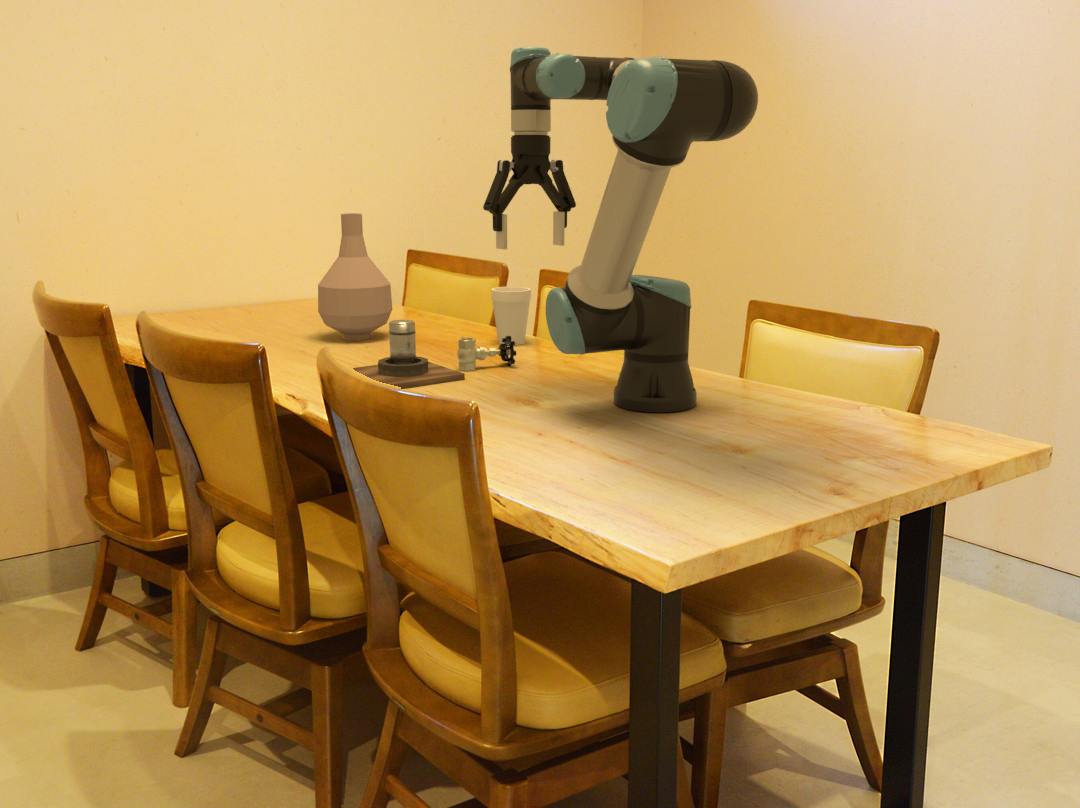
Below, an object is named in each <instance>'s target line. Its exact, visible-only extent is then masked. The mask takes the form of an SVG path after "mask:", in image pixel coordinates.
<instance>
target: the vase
mask: <svg viewBox="0 0 1080 808" xmlns="http://www.w3.org/2000/svg"><path fill="white" fill-rule="evenodd" d="M340 222H341V223H340V224H341V226H340V227H341V239H340V245H339V249H338V251H339V252H338V256H337V257H336V259H335V261H334V262H333V263H332V265H331V266H330V268H329V269H328V270H327V272H326V274H324V276H323V278H321V280H320V282H318V284H317V305H318V306H317V312H318V315H319V316H320V318H321V319H322V322H323V324H324V325H325V326H327V327H329V328H331V329H332V330H335V331H337V332H339V333H341V334H342V338H343V339H344V340H346V341H362V340H363V341H364V340H368V339H370V338H371V333H373V332H374V331H376V330H378V329H379V328H381V327H383V326H384V325H386V324H388V321H389V319H390V316H391V314H392V311H393V300H392V287H391V282H390V281H389V280H388V278H387V277H386V275H384V273H382V271H381V270H380V268H379V267H377V265H376V264H375V262H374V261H373V260H372V259H371V258H370V257H369V255H368V252H367V247H366V242H365V239H364V234H363V232H364V231H363V214H362V213H355V212H354V213H350V212H349V213H348V212H347V213H340Z"/></svg>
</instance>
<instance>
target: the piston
mask: <svg viewBox="0 0 1080 808" xmlns="http://www.w3.org/2000/svg"><path fill="white" fill-rule="evenodd" d="M388 335H389V337H388V338H389V357H390V364H397V365H401V364H414V363H416V356H417V349H416V347H417V344H416V341H417V340H416V323H415V321H414V320H412V319H394V320H390V321H389V322H388Z"/></svg>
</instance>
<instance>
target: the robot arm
mask: <svg viewBox="0 0 1080 808" xmlns="http://www.w3.org/2000/svg"><path fill="white" fill-rule="evenodd" d="M550 51H551V50H549V48H547V47H539V46H523V47H515V48H514V49H513V50H512V51H511V53H510V67H509V73H510V74H509V75H510V131H511V132H512V133H513V134H514V135H511V136H510V153H511V156H512V159H511V161H510V160H509V159H508V160H507V159H500V160H498V161H497V165H496V166H497V167H496V173H495V175H494V178H493V180H492V184H491V186H490V188H489V191H488V193H487V196H486V198H485V201H484V203H483V207H482V208H483V210H484V211H486V212H489V213H490V214H492V229H493V230H492V231H494V232H495V248H496V249H497V250H498V249H499V250H508V214H506V213H505V214H504V212H505V211H506V209H507V208H508V206H509V204H510V203H511V201H512V200H513V199H514V197H515V196H516V194H517V193H518V191H519V189H520V188H521V187H523V186H524V185H538V186H540V187H541V189H542V190H543V191H544V193H545V194H546V196H547V198H549V200H550V202H551V204H552V205H553V206H554V208H555V209H556V210H555V211H553V213H552V214H553V215H552V221H553V222H552V223H553V224H552V226H553V227H552V230H553V231H552V245H554V246H560V247H561V246H565V229H567V226H568V213H570V212H571V210H572V209H574V208H576V206H577V202H576V201H575V198H574V195H573V192H572V190H571V188H570V184H569V182H568V180H567V176H566V173H565V171H564V162H563V160H562V159H552V160H550V158H549V157H550V154H551V136H550V135H548V133H550V132H551V131H552V127H551V126H552V125H551V124H552V119H551V118H552V117H551V115H552V113H551V110H552V108H551V101H552V100H568V101H569V100H573V101H574V100H575V101H577V100H579V101H580V100H582V101H584V100H585V101H594V100H595V101H596V100H597V101H606V104H605V105H606V106H607V111H606V112H605V116H606V117H605V118H606V124H607V129H608V130H609V131H610V133H611V135H612V136H611V137H612V143H613V145H614V146H615V148H616V149H617V152H616V155H615V159H614V161H613V165H612V168H611V171H610V175H609V177H608V180H607V183H606V187H605V189H604V193H603V196H602V199H601V202H600V205H599V208H598V211H597V214H596V217H595V221H594V224H593V227H592V230H591V232H590V236H589V239H588V243H587V246H586V249H585V252H584V254H583V258H582V261H581V264H580V265H578V266H576V267H574V268H571V270H570V271H569V273H568V275H567V278H566V281H565V284H564V286H563V287H560V286H557V287H555V288H552V289H550V290H549V291H548V293H547V295H546V299H545V319H546V325H547V329H548V333H549V336H550V338H551V341H552V343H553V344H554V346H555V347H556V349H557V350H558V351H560V352H561V354H562V353H563V354H565V355H581V356H582V355H586V354H594V353H597V354H598V353H606V352H616V351H623V353H624V354H623V361H622V362H623V363H622V366H621V369H620V372H619V376H618V379H617V384H616V385H615V387H614V389H613V404H614V405H616V406H617V407H619V408H622V409H627V410H628V411H629V410H630V411H635V412H636V411H637V412H642V413H643V412H645V413H674V412H675V413H676V412H681V411H682V412H683V411H687V410H690V409H693V408H694V407H696V405H697V396H698V395H697V389H696V388H695V386H694V381H693V376H692V372H691V368H690V365H689V364H690V363H689V347H690V325H691V324H690V323H691V309H692V300H691V299H692V298H691V288H690V286H689V285H688V284H687V282H684V281H682V280H679V279H673V278H667V277H662V276H660V277H659V276H655V275H653V276H652V275H644V274H643V275H642V274H633V273H634V270H635V268H636V264H637V262H638V259H639V256H640V254H641V251H642V249H643V245H644V242H645V240H646V239H647V238H646V237H647V235H648V232H649V229H650V226H651V223H652V221H653V218H654V216H655V213H656V210H657V207H658V205H659V202H660V199H661V196H662V194H663V191H664V188H665V185H666V183H667V181H668V178H669V175H670V172H671V169H672V168H675V167H677V166H679V165H681V164H683V163H684V161H686V158H687V155H688V152H689V151H690V147H691V145H692V143H694V142H695V143H696V142H697V143H698V142H701V143H702V142H721V141H724V140H728V139H731V138H733V137H735V136H736V135H739V134H741V132H742V131H744V130H745V129H746V127H748V126H749V125H750V123H751V122H752V120H753V118H754V116H755V114H756V112H757V109H758V105H759V104H758V103H759V93H758V87H757V84H756V82H755V80H754V79H753V77H752V75H751V74H750V73H749V72H747V70H746V69H745V68H744V67H741V66H740V65H737V64H736V63H734V62H729V61H726V60H719V59H718V60H716V59H712V60H706V59H685V58H683V59H682V58H667V57H665V56H652V57H641V58H640V57H639V58H635V57H627V56H625V57H607V56H605V57H604V56H602V57H601V56H600V57H599V56H584V55H583V56H581V55H573V54H571V53H565V52H564V53H559V52H556V53H551V52H550ZM511 171H512V172H513V174H512V175H511V177H510V178H509V174H510V172H511ZM549 171H550V172H551V176H552V178H553V179H552V178H551V177H550V174H548V173H549ZM508 179H509V180H508ZM553 180H554V183H553ZM507 182H508V184H506V183H507Z"/></svg>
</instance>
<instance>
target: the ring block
mask: <svg viewBox="0 0 1080 808" xmlns="http://www.w3.org/2000/svg"><path fill="white" fill-rule="evenodd" d="M352 368H353V369H354V370H355V371H357V372H359V373H361V374H363V375H365V376H367V377H369V378H371V379H373V380H376V381H379V382H382V383H386V384H390V385H394V386H398V387H401V388H404V389H406V388H405V387H411V388H416V387H423V386H429V385H430V386H431V385H437V384H444V383H449V382H457V381H462V380H463V381H464V380H465V379H466V377H465V376H466V375H465V373H463V372H461V371H457V370H454V369H452V368H449V367H446V366H442V365H440V364H437V363H434V362H431V361H429V359H428V358H427V357H424V356H423V357H422V356H417V355H416V363H414V364H401V365H397V364H390V356H387V357H383V358H381V359H378V360H377V364H371V365H366V366H359V367H352Z"/></svg>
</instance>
